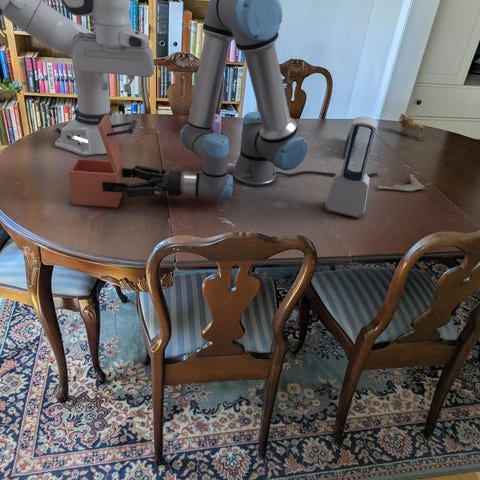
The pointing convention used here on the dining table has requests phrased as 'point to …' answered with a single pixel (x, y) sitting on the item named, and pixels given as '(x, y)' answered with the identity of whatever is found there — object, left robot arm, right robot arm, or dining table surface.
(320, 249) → the dining table surface
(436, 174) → the dining table surface
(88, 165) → the chest
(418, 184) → the jawbone
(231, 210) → the dining table surface
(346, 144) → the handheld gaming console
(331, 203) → the electronic device
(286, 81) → the miniature windmill
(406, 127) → the lion figurine
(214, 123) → the clip
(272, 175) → the right robot arm
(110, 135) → the lid
